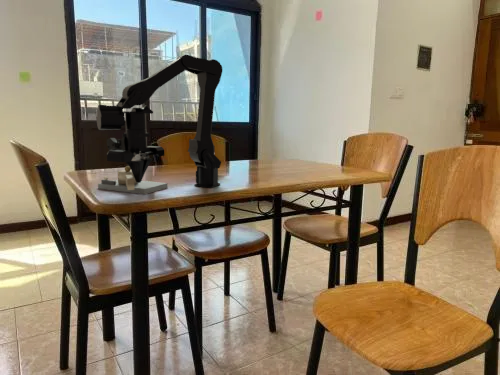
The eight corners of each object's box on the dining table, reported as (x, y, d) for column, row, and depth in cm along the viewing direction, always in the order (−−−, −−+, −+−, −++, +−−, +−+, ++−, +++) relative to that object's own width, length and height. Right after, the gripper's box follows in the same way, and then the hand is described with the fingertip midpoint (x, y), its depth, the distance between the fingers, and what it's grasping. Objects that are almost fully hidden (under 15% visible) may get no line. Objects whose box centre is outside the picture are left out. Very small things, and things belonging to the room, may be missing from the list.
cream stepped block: (142, 189, 109) (141, 171, 108) (119, 190, 106) (119, 172, 105) (137, 180, 124) (136, 164, 123) (117, 180, 121) (116, 164, 120)
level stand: (167, 187, 121) (167, 175, 120) (144, 194, 111) (144, 180, 110) (123, 183, 128) (122, 171, 127) (98, 188, 118) (97, 176, 117)
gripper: (136, 127, 122) (138, 175, 125) (90, 129, 105) (93, 185, 108) (164, 128, 117) (166, 178, 120) (121, 131, 101) (124, 189, 104)
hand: (138, 182), depth 113 cm, fingers closed
